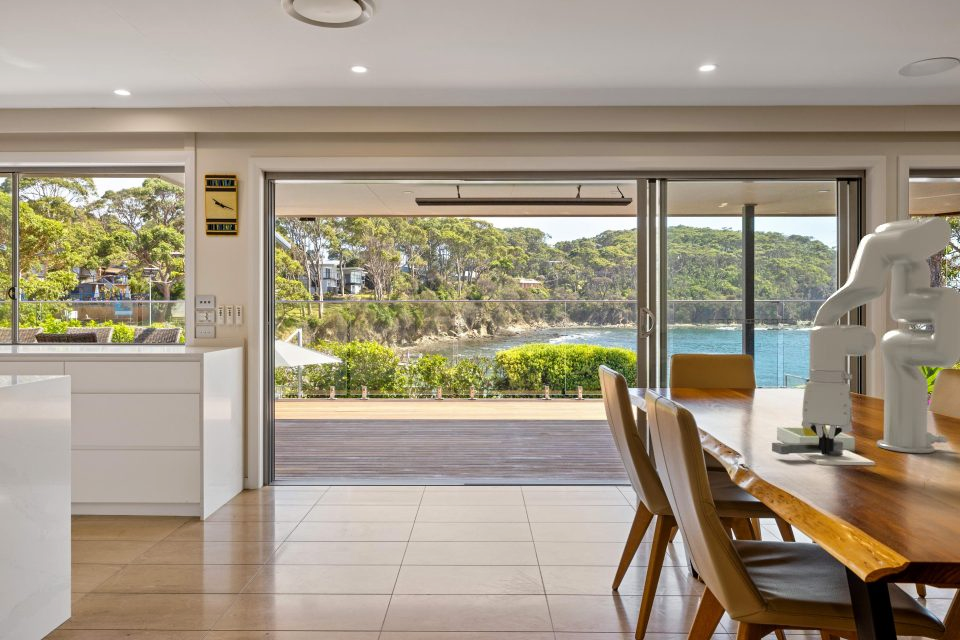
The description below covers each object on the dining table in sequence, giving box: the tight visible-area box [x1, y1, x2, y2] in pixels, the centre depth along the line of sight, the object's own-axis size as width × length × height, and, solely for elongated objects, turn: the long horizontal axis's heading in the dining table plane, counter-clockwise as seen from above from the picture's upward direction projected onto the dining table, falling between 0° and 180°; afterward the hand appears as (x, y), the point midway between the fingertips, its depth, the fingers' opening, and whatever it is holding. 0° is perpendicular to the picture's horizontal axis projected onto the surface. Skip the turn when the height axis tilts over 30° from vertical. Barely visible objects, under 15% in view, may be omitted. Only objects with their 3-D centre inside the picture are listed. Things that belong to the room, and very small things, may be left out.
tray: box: [776, 426, 856, 452], centre depth 172 cm, size 14×14×4 cm
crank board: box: [795, 450, 876, 466], centre depth 156 cm, size 13×13×1 cm
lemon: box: [803, 425, 827, 436], centre depth 171 cm, size 6×6×8 cm
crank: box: [771, 440, 843, 456], centre depth 155 cm, size 17×4×3 cm, turn 96°
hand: (826, 453), depth 152 cm, fingers closed
